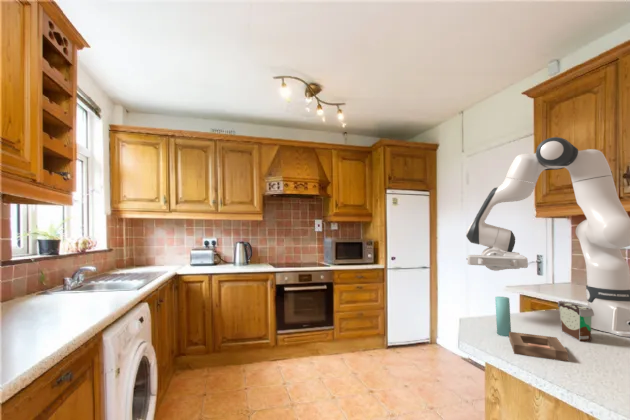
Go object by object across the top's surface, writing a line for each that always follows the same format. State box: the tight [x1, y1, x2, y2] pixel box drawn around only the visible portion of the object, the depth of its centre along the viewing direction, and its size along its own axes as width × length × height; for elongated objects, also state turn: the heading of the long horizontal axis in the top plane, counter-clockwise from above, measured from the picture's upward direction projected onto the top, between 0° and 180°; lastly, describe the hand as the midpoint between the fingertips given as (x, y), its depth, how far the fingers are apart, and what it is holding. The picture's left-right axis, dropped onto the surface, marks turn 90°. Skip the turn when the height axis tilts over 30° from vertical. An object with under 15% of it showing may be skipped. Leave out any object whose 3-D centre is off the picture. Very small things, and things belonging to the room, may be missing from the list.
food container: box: [557, 300, 594, 342], centre depth 98 cm, size 12×6×10 cm, turn 168°
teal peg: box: [494, 296, 512, 337], centre depth 101 cm, size 4×4×12 cm
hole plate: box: [508, 331, 569, 362], centre depth 88 cm, size 12×12×3 cm
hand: (497, 262), depth 113 cm, fingers open, 8 cm apart
